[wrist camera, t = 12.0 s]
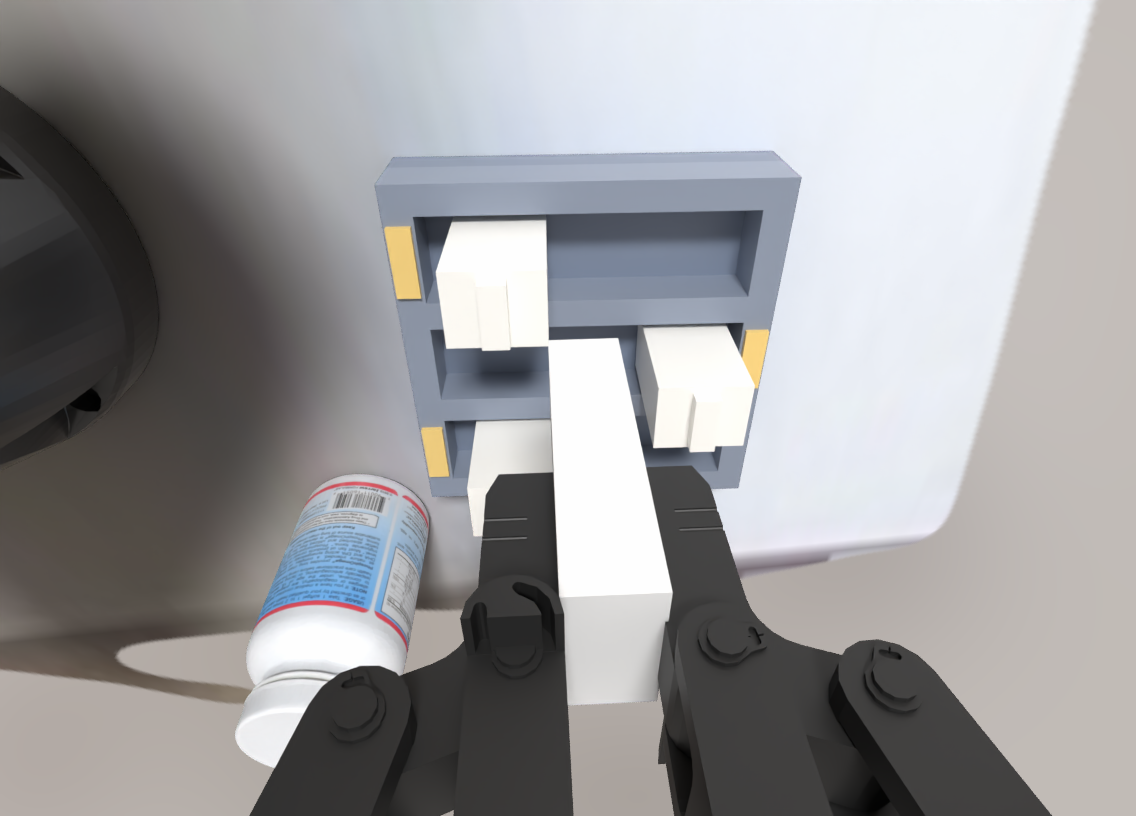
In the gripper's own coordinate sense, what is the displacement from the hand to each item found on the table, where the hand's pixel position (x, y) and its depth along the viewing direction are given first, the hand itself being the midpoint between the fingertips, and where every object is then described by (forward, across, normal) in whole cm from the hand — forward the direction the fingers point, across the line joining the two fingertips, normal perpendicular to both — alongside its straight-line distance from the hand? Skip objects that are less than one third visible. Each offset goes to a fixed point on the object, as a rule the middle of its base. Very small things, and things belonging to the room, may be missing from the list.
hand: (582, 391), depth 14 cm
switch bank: (+11, +1, -4) cm, 12 cm away
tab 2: (+10, -2, -8) cm, 13 cm away
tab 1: (+10, -2, 0) cm, 10 cm away
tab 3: (+10, +4, -4) cm, 11 cm away
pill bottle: (+11, -10, -15) cm, 21 cm away
